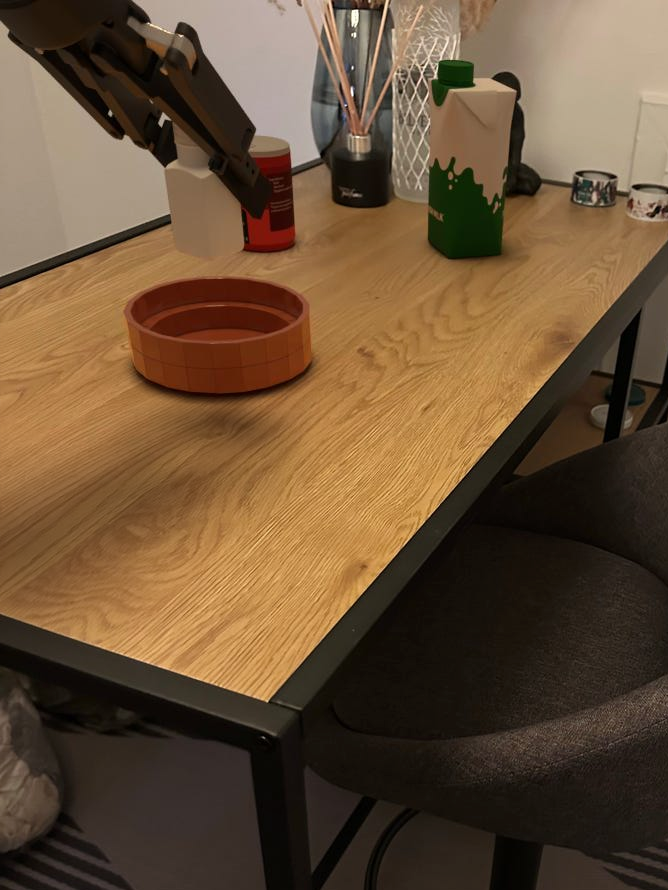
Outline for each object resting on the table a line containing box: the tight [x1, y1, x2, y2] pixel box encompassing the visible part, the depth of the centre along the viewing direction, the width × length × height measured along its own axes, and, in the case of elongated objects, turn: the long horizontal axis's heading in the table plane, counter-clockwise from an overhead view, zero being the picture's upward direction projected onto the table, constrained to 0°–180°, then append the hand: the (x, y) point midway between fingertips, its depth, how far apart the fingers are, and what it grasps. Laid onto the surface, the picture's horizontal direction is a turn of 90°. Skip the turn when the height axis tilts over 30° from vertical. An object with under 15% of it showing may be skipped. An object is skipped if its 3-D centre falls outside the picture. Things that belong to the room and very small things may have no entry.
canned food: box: [241, 134, 296, 253], centre depth 111 cm, size 8×8×11 cm
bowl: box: [122, 275, 313, 394], centre depth 86 cm, size 16×16×5 cm
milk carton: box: [427, 59, 518, 260], centre depth 111 cm, size 9×9×20 cm
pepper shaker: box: [163, 121, 244, 262], centre depth 69 cm, size 4×4×10 cm
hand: (236, 196), depth 73 cm, fingers closed on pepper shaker, 4 cm apart
